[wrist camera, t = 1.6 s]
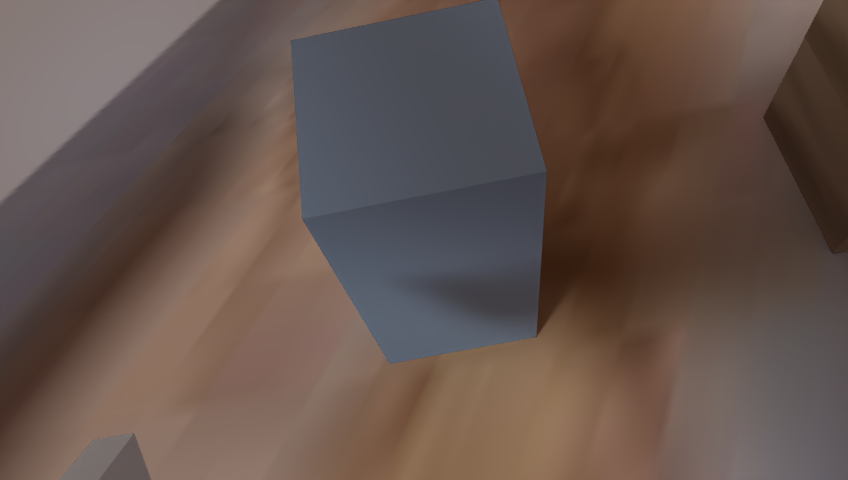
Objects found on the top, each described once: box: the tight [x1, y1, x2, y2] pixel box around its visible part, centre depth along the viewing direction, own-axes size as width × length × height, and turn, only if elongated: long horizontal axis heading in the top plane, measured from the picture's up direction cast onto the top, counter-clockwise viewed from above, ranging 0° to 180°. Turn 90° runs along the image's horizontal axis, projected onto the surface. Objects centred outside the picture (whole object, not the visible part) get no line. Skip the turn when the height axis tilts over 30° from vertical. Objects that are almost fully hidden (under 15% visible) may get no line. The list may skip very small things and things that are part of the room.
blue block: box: [291, 0, 547, 364], centre depth 22 cm, size 6×6×12 cm
